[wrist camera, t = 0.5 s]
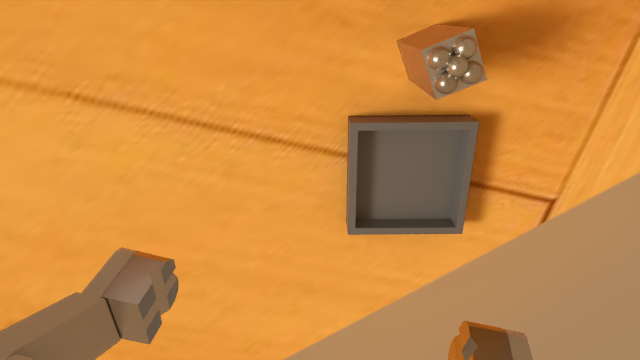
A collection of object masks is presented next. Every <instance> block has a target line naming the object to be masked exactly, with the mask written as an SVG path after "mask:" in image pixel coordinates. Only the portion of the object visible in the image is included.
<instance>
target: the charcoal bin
mask: <svg viewBox="0 0 640 360" xmlns="http://www.w3.org/2000/svg"><path fill="white" fill-rule="evenodd" d="M478 127H479V121H477V120H476V119H474V118H473V117H471V116H470V115H433V116H348V166H347V219H346V223H347V231H348V235H359V234H462V232H463V226H464V219H465V212H466V206H467V199H468V193H469V186H470V179H471V173H472V166H473V160H474V153H475V146H476V140H477V133H478Z"/></svg>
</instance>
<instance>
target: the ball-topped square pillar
mask: <svg viewBox="0 0 640 360" xmlns="http://www.w3.org/2000/svg"><path fill="white" fill-rule="evenodd" d="M397 44H398V47H399V50H400V53H401V57H402V60H403V63H404V66H405V69H406V72H407V75H408V78H409V80H411V81H412V82H413V83H415V84H416V85H417V86H418V87H420V88H421V89H422V90H424V91H425V92H426V93H428V94H429V95H430V96H432V97H433V98H434V99H436V100H437V99H440V98H442V97H445V96H447V95H450V94H452V93H455V92H457V91H460V90H462V89H465V88H468V87H470V86H473V85H475V84H478V83H480V82H483V81H485V80H487V78H486V74H485V70H484V66H483V62H482V58H481V54H480V50H479V46H478V41H477V37H476V33H475V29H474V28H469V27H459V26H449V25H439V24H435V25H433V26H430V27H428V28H426V29H423V30H421V31H419V32H416V33H414V34H411V35H409V36H407V37H404V38H402V39H400V40H397Z"/></svg>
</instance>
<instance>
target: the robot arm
mask: <svg viewBox="0 0 640 360" xmlns="http://www.w3.org/2000/svg"><path fill="white" fill-rule="evenodd" d="M175 268H176V267H175V263H174V260H173V259H169V258H165V257H161V256H156V255H152V254H148V253H144V252H140V251H135V250H131V249H126V248H120V249H119V250H117V251H116V252H115V253H114V254H113V255H112V256H111V257H110V259H109V260H108V261H107V262H106V264H105V265H104V266H103V267H102V268H101V270H100V271H99V272H98V273H97V275H96V276H95V277H94V278H93V279H92V281H91V282H90V283H89V284H88V286H87V287H86V288H85V289H84V290H83V292H82V293H78V292H76V293H74V294H72V295H70V296H68V297H66V298H64V299H62V300H60V301H58V302H56V303H54V304H52V305H50V306H48V307H46V308H45V309H43V310H41V311H39V312H37V313H35V314H33V315H31V316H29V317H27V318H25V319H23V320H21V321H19V322H17V323H15V324H13V325H12V326H10V327H8V328H6V329H4V330H2V331H0V360H95V359H96V358H97V357H99V356H100V355H101V354H103V353H104V352H105V351H107V350H108V349H110V348H111V347H112V346H114V345H115V344H116V343H118V342H119V341H120V338H121V339H126V340H131V341H136V342H141V343H146V344H150V343H151V341H152V340H153V338H154V336H155V334H156V333H157V331H158V329H159V328H160V326H161V324H162V320H161V315H162V314H163V313H165V312H167V311H168V310H170V308H171V306H172V304H173V303H174V301H175V298H176V295H177V292H178V278H177V276H176V275H175V274H174V273H173V271H174V269H175ZM459 332H460V335H458V336H456V337H454V338H453V340H452V343H451V345H450V349H449V354H448V356H449V357H448V360H533V358H532V355H531V351H530V347H529V344H528V340H527V337H526V336H525V334H524V333H521V332H516V331H511V330H506V329H502V328H499V327H494V326H489V325H483V324H479V323H474V322H469V321H464V322H462V324H461V326H460V327H459Z"/></svg>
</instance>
